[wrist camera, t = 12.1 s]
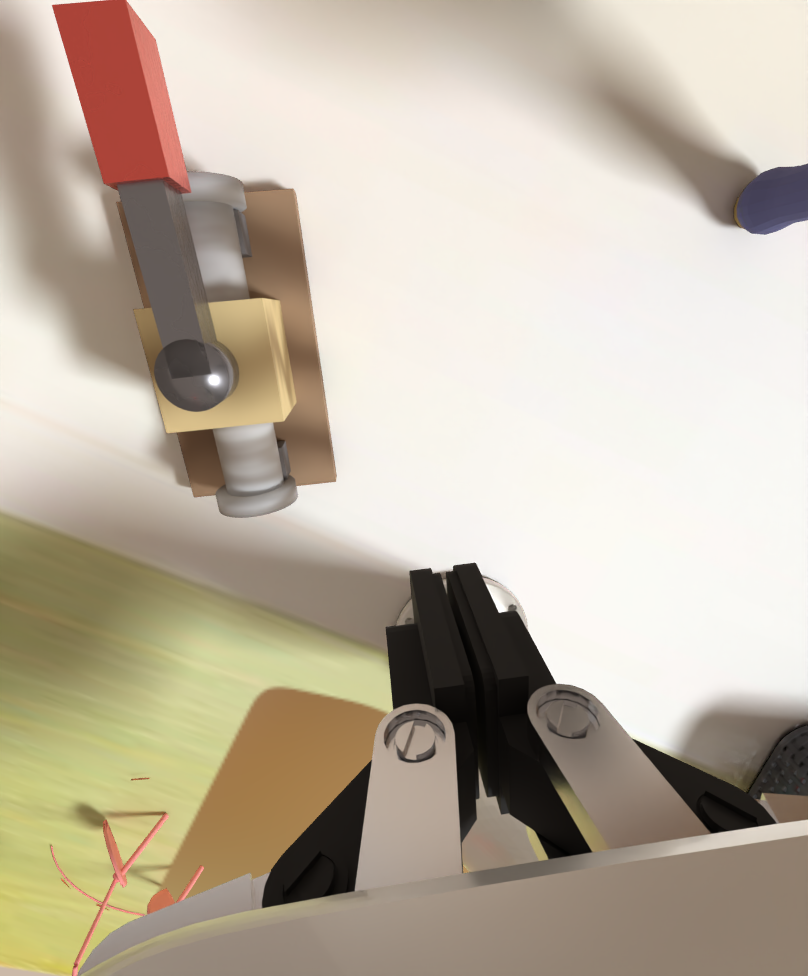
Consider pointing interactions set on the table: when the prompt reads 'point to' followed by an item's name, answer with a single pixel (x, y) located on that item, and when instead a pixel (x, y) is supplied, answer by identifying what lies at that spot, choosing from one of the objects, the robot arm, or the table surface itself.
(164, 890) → the figurine
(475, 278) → the table surface
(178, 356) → the lever
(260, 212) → the valve manifold
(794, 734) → the storage bin
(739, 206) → the rubber mallet
